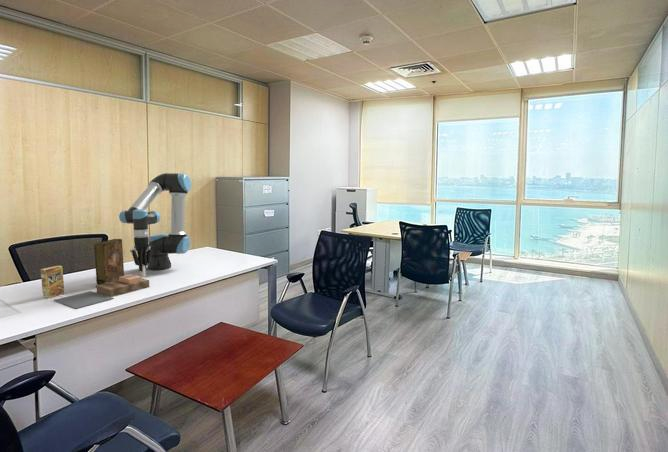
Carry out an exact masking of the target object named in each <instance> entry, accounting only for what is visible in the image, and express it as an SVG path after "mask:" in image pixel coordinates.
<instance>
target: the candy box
mask: <svg viewBox="0 0 668 452" xmlns="http://www.w3.org/2000/svg"><path fill="white" fill-rule="evenodd" d="M63 271H64V270H63V266H62V265H54V266H50V267H44V268H40V278H41V279H40V281H41V288H42V289H41V291H42V297H43V299H44V298H46V299H49V298H53V297H58V296H62V295H65V293H66V292H65V284H64V283H65V282H64V273H63Z"/></svg>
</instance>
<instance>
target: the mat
mask: <svg viewBox="0 0 668 452" xmlns="http://www.w3.org/2000/svg"><path fill="white" fill-rule="evenodd" d="M111 300H114V297H109V296H106V295H103V294H100V293H97V291H96V292H95V291H92V290H89V291H88V290H87V291H85V292H81V293H76V294H73V295H68V296H64V297H59V298H56V299H53V301H54V302H56V303H59V304H61V305H64V306H67V307H70V308H71V309H74V310H78V309H81V308H86V307H89V306H92V305H96V304H101V303H104V302H107V301H111Z"/></svg>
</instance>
